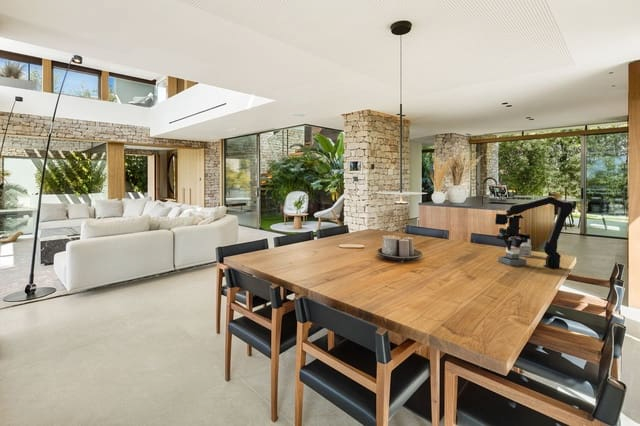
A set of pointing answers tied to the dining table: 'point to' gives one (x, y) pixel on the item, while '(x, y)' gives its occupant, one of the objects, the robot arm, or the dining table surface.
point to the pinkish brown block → (513, 250)
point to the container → (525, 248)
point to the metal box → (512, 256)
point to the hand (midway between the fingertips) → (512, 250)
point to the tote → (512, 261)
